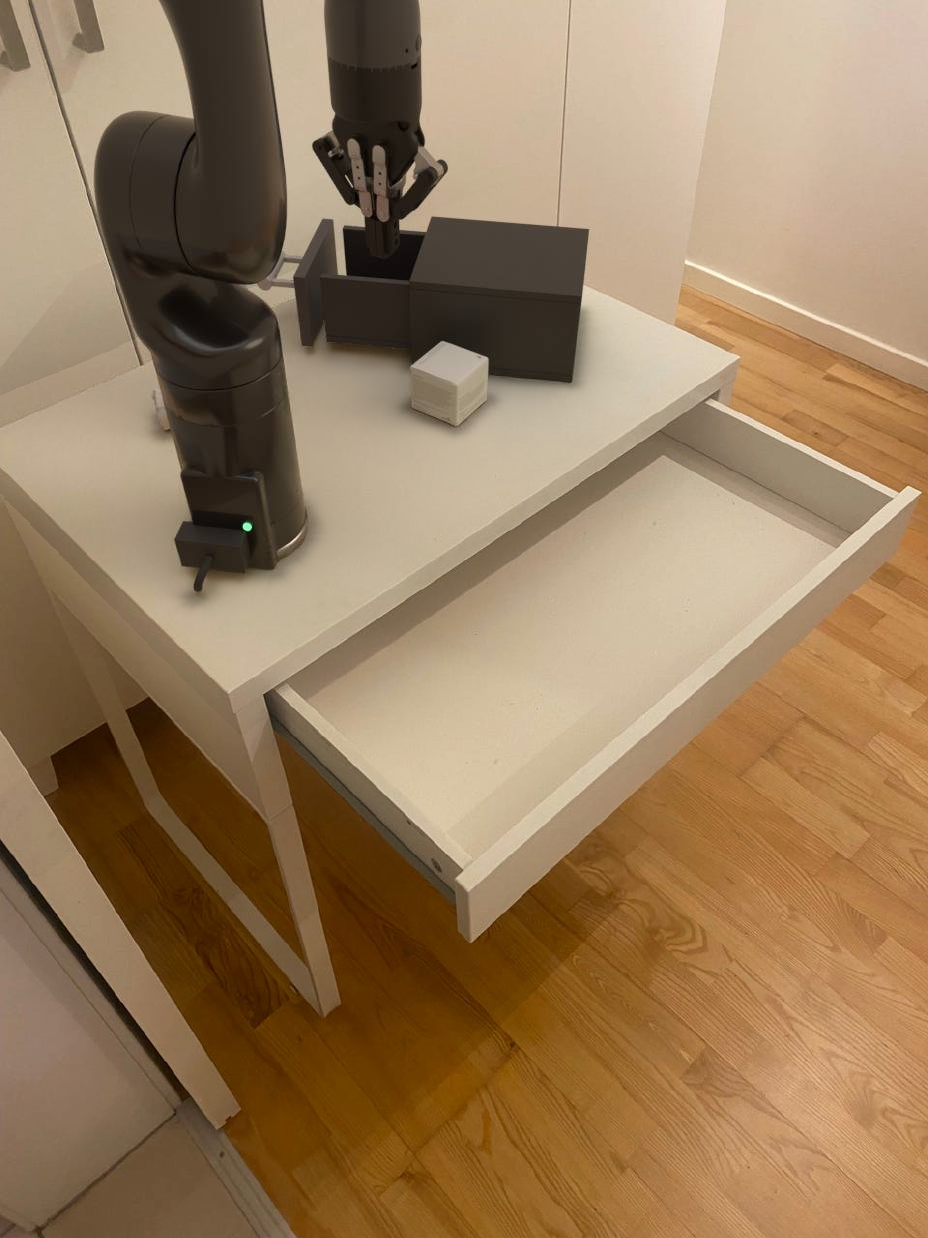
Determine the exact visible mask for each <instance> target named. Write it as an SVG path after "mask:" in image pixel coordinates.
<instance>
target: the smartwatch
mask: <svg viewBox="0 0 928 1238" xmlns="http://www.w3.org/2000/svg"><path fill="white" fill-rule="evenodd" d="M151 399H152V400H153V404H154V407H155V411H156V413H157V415H156V416H157V420H158V423H159V425H160V426H161V427H162V429H163V430H167V431H168V430H171V429H170V425H169V422H168V418H167V414H166V410H165V406H164V402H163V398H162V394H161V390H160V387H155V388H154V389H153V390H152V392H151Z"/></svg>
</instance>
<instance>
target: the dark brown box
mask: <svg viewBox="0 0 928 1238" xmlns="http://www.w3.org/2000/svg"><path fill="white" fill-rule="evenodd" d="M425 232H426V234H425V237H424V240H423V243H422V246H421V249H420V252H419V254H418V257H417V260H416V263H415V266H414V269H413V272H412V275H411V278H410V281H409V288H410V289H409V293H410V329H411V350H410V355H411V356H410V360H411V361H410V363H411V365H413V364H414V363H415V362H416V361H418V360H419V359H420V358H421V357H423V356H424V355H425V354H426V353H428V352H429V351H430V350H431V349H432V348H434V347H435V346H436V345H437V344H439V343H440V342H441V341H444V342H447V343H450V344H453V345H456V346H458V347H461V348H463V349H466V350H469V351H471V352H474V353H477V354H480V355H482V356H485V357H487V358H488V375H489V376H490V375H492V376H503V377H511V378H512V377H513V378H524V379H533V380H534V379H535V380H545V381H546V380H547V381H554V382H555V381H556V382H568V383H572V382H573V379H574V378H573V377H574V369H575V361H576V360H575V359H576V352H577V345H578V343H577V342H578V333H579V326H580V317H581V310H582V300H583V292H584V282H585V272H586V264H587V254H588V244H589V236H590V228H583V227H582V228H580V227H568V226H558V225H546V224H533V223H532V224H531V223H521V222H509V221H507V222H506V221H496V220H485V219H484V220H483V219H482V220H481V219H471V218H459V217H458V218H457V217H445V216H435V215H432V216H431V217H430V220H429V223H428V225H427V228H426V231H425Z"/></svg>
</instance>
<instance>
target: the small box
mask: <svg viewBox="0 0 928 1238" xmlns="http://www.w3.org/2000/svg"><path fill="white" fill-rule="evenodd" d="M409 374H410V375H409V377H410V398H411V400H410V401H411V402H410V403H411V408H412V409H414V410H416V411H419V412H421V413H423V414H426V415H429V416H431V417H434V418H436V419H439V420H441V421H443V422H444V423H448V424H450V425H452V426H454V427H459V426H460V425H461V424H462V423H463V422H464V421H465V420H466V419H467V418H468V417H470V415H472V414H473V413H474V412H475V411H476V410H477V409H478V408H479V407H480V406H481V405H483V404H484V403H485V402H486V401H487V400H488V392H489V391H488V390H489V389H488V387H489V386H488V385H489V384H488V383H489V374H488V358H487V357H485V356H482V355H480V354H477V353H474V352H471V351H469V350H466V349H463V348H461V347H458V346H456V345H453V344H450V343H447V342H444V341H441V342H440V343H439V344H437V345H436V346H435V347H434V348H432V349H431V350H430V351H429V352H428V353H426V354H425V355H424V356H423V357H421V358H420V359H419V360H418V361H416V362H415V363H414V364H413V365H412V364H411V365H410V366H409Z"/></svg>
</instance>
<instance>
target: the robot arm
mask: <svg viewBox="0 0 928 1238" xmlns="http://www.w3.org/2000/svg"><path fill="white" fill-rule="evenodd" d="M158 2H159V4H160V6H161V8H162V10H163V13H164V15H165V17H166V19H167V22H168V24H169V26H170V29H171V31H172V32H171V33H172V34H173V37H174V40H175V43H176V45H177V49H178V51H179V55H180V58H181V62H182V67H183V71H184V75H185V79H186V83H187V88H188V94H189V99H190V103H191V109H192V117H193V118H192V117H186V116H182V115H181V116H180V115H174V114H169V113H164V112H158V111H149V110H131V111H127V112H124V113H121V114H120V115H118V116H117V117H115V118H114V119H113V120H112V121H111V122H110V123H109V124H108V125H107V126H106V127H105V129H104V130H103V132H102V134H101V136H100V139H99V141H98V145H97V148H96V151H95V155H94V162H93V163H94V164H93V192H94V201H95V208H96V213H97V218H98V222H99V226H100V229H101V230H100V231H101V234H102V237H103V240H104V245H105V247H106V250H107V253H108V257H109V259H110V262H111V265H112V269H113V271H114V274H115V277H116V280H117V283H118V285H119V289H120V291H121V292H120V293H121V295H122V298H123V302H124V304H125V308H126V311H127V314H128V317H129V320H130V322H131V323H130V324H131V325H132V327H133V330H134V332H135V334H136V336H137V337H138V339H139V340H140V342H141V343H142V344H143V346H145V348H146V349H147V351H148V352H149V353H150V356H151V359H152V363H153V366H154V371H155V374H156V378H157V382H158V386H159V388H160V390H161V394H162V398H163V402H164V406H165V410H166V414H167V418H168V422H169V425H170V429H169V430H170V433H171V436H172V437H171V438H172V440H173V444H174V449H175V452H176V457H177V460H178V464H179V467H180V473H179V477H180V480H181V484H182V489H183V493H184V496H185V500H186V504H187V508H188V511H189V515H190V519H191V521H189V520H183V521H182V523H181V524H180V526H179V528H178V531H177V532H176V535H175V536H174V539H173V541H174V544H175V545H174V546H175V548H176V551H177V552H176V553H177V555H178V559H179V562H180V566H181V567H186V568H194V569H198V570H197V573H196V575H195V578H194V581H193V591H194V592H196V593H201V592H202V591H203V585H204V582H205V579H206V577H207V574H208V572H209V571H210V570H212V571H221V572H229V573H238V574H246V573H247V569H248V567H250V568H258V569H259V568H260V569H267V570H268V569H269V570H273V569H275V567H276V565H277V563H278V561H279V560H280V559H282V558H284V557H286V556H288V555H289V554H291V553H292V552H293V551H295V550H296V549H297V548H298V547H299V546H300V545H301V544H302V542H303V541H304V540H305V538H306V536H307V533H308V530H309V517H308V512H307V511H308V510H307V507H306V505H305V498H304V492H303V485H302V477H301V471H300V465H299V458H298V450H297V444H296V437H295V429H294V423H293V416H292V415H293V414H292V408H291V403H290V401H291V400H290V396H289V389H288V380H287V372H286V366H285V365H286V364H285V358H284V352H283V351H284V350H283V343H282V335H281V330H280V329H281V328H280V325H279V321H278V317H277V315H276V313H275V312H274V310H273V309H272V307H271V306H270V305H269V303H267V302H266V300H264V299H263V298H262V297H261V296H259V295H257V294H256V293H255V292H253V291H251V290H250V289H248V287H247V288H245V287H244V286H242V285H247V286H249V285H251V286H252V285H256V284H257V283H259V282H261V281H263V280H265V279H266V278H267V277H268V276H269V275H270V274H271V273H272V272H273V270H274V268H275V267H276V265H277V263H278V261H279V259H280V256H281V252H282V251H283V249H284V244H285V240H286V232H287V226H288V225H287V224H288V183H287V174H286V173H287V172H286V165H285V164H286V163H285V156H284V147H283V139H282V133H281V126H280V125H281V124H280V118H279V110H278V103H277V97H276V96H277V95H276V90H275V89H276V88H275V82H274V75H273V68H272V60H271V54H270V45H269V38H268V29H267V23H266V15H265V13H266V12H265V6H264V5H265V4H264V0H158ZM421 18H422V17H421V6H420V0H323V22H324V23H323V24H324V35H325V45H326V61H327V71H328V72H327V73H328V81H329V82H328V84H329V97H330V106H331V109H332V111H333V112H334V116H333V118H332V120H331V121H332V122H331V131H328V132H326V133H325V134H324V135H321V136H320V137H319V138H317V139H315V140H313V142H312V144H311V147H312V151H313V152H314V154H315V156H316V158H317V159H318V160H319V162H320V163H321V165H322V167H323V168H324V170H325V172H326V174H327V175H328V177H329V178H330V181H332V184H333V185H334V186H335V188H336V189H337V191H338V193H339V194H340V196H341V197H342V199H343V200H344V202H345V204H346V205H348V206H353V205H354V206H356V207H357V208H358V209H360V213H361V214H362V215H363V217H364V227H365V231H366V232H365V235H366V244H367V246H368V248H370V253H371V255H373V256H376V257H379V258H383V259H387V258H388V257H389V256H391V255H392V254H393V253H394V252H395V250H397V249H398V248H399V245H400V230H401V228H400V221H403V220H404V219H405V218H407V216H409V215H410V214H412V213H413V212H414V211H416V210H417V209H418V208H419V207H420V206H421V205H422V204H423V202H424V201H425V200H426V199H427V197H428V196H429V195H430V194H431V192H432V191H433V190H434V189H435V188H436V186H437V185H438V184H439V182H440V181H441V180H442V179H443V178H444V177H445V175H446V174H447V173H448V170H449V166H448V164H447V161H446V160H444V159H441V158H439V159H437V160H436V159H435V158H434V157H433V156H432V154H431V153H430V152H429V150H427V148H426V147H425V145H426V136H425V134H424V132H423V129H422V126H421V123H420V122H421V121H420V120H421V112H422V107H423V85H422V84H423V83H422V82H423V81H422V77H423V75H422V46H423V45H422V43H423V40H422V21H421V20H422V19H421ZM414 163H415V164H414ZM413 164H414V165H415V166H414V168H413V174H412V179H413V180H414V182H413V183H412V184H411V186H410V187H409V188H408V189H407V191H406V192H405V193H404V188H405V186H406V183H407V173H408V171H410V169H411V168H412V166H413Z"/></svg>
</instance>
